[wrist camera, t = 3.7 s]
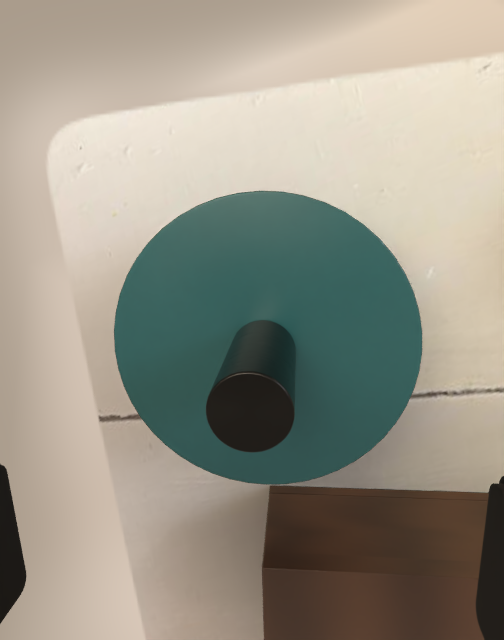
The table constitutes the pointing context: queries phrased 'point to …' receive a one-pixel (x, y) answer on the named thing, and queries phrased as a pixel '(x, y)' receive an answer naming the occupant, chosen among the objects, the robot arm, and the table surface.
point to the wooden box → (372, 564)
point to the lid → (268, 337)
